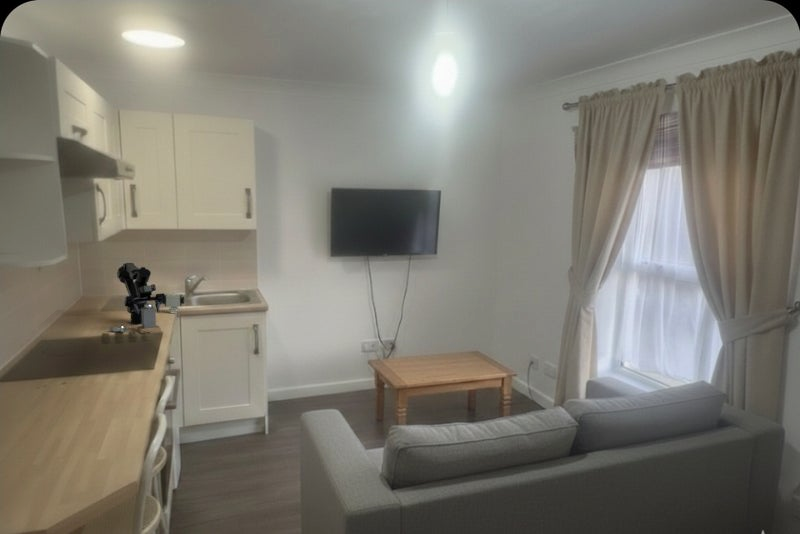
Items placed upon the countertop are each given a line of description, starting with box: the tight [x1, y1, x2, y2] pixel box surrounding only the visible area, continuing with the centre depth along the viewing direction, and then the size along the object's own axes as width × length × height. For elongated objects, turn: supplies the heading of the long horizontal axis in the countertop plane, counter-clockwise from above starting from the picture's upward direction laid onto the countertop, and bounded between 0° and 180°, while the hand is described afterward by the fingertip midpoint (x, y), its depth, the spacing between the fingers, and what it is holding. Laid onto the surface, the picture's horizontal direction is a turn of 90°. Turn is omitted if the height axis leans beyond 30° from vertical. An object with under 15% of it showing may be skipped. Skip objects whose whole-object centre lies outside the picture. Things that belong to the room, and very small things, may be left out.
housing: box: [141, 303, 157, 329], centre depth 262 cm, size 4×6×12 cm
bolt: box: [109, 324, 127, 333], centre depth 258 cm, size 7×4×4 cm, turn 83°
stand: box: [136, 324, 162, 334], centre depth 262 cm, size 9×9×2 cm
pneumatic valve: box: [162, 293, 186, 315], centre depth 305 cm, size 6×12×12 cm, turn 106°
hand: (148, 313), depth 261 cm, fingers open, 9 cm apart
